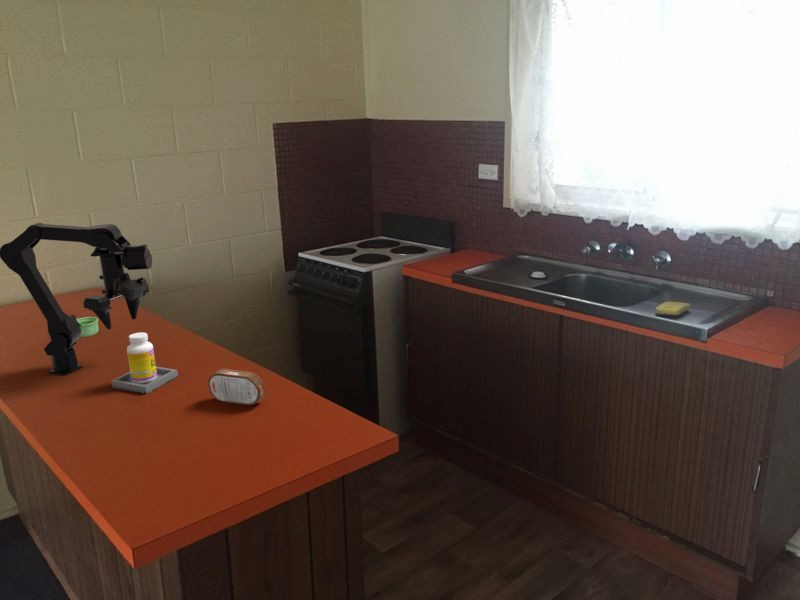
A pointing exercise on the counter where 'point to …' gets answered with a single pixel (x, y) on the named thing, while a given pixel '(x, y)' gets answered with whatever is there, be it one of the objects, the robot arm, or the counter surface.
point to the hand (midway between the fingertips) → (121, 324)
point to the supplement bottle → (141, 359)
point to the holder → (162, 378)
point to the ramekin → (88, 326)
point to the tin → (236, 387)
